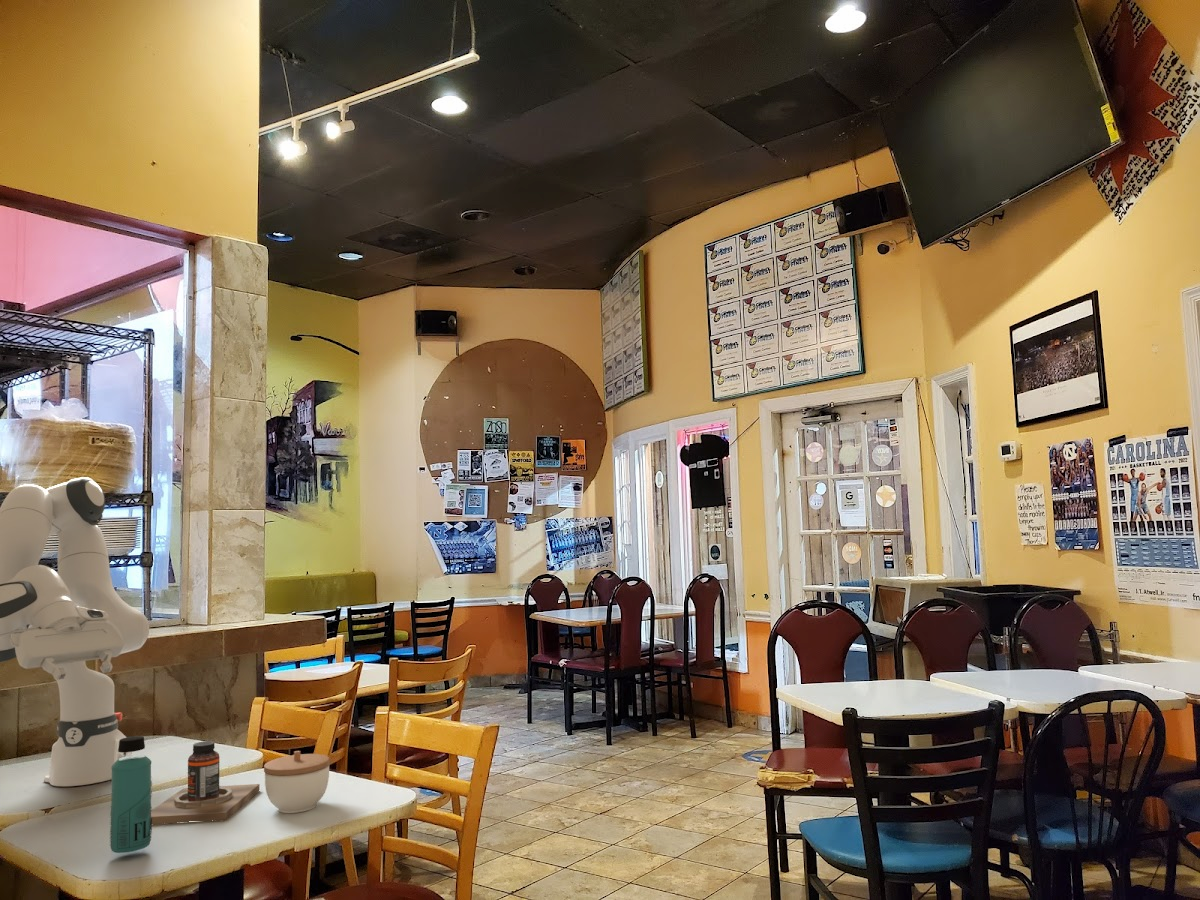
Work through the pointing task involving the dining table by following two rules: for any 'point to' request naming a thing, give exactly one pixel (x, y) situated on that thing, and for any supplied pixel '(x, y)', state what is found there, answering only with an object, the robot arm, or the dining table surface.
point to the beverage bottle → (131, 798)
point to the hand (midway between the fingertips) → (85, 673)
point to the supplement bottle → (203, 772)
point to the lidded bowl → (296, 781)
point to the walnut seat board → (203, 805)
